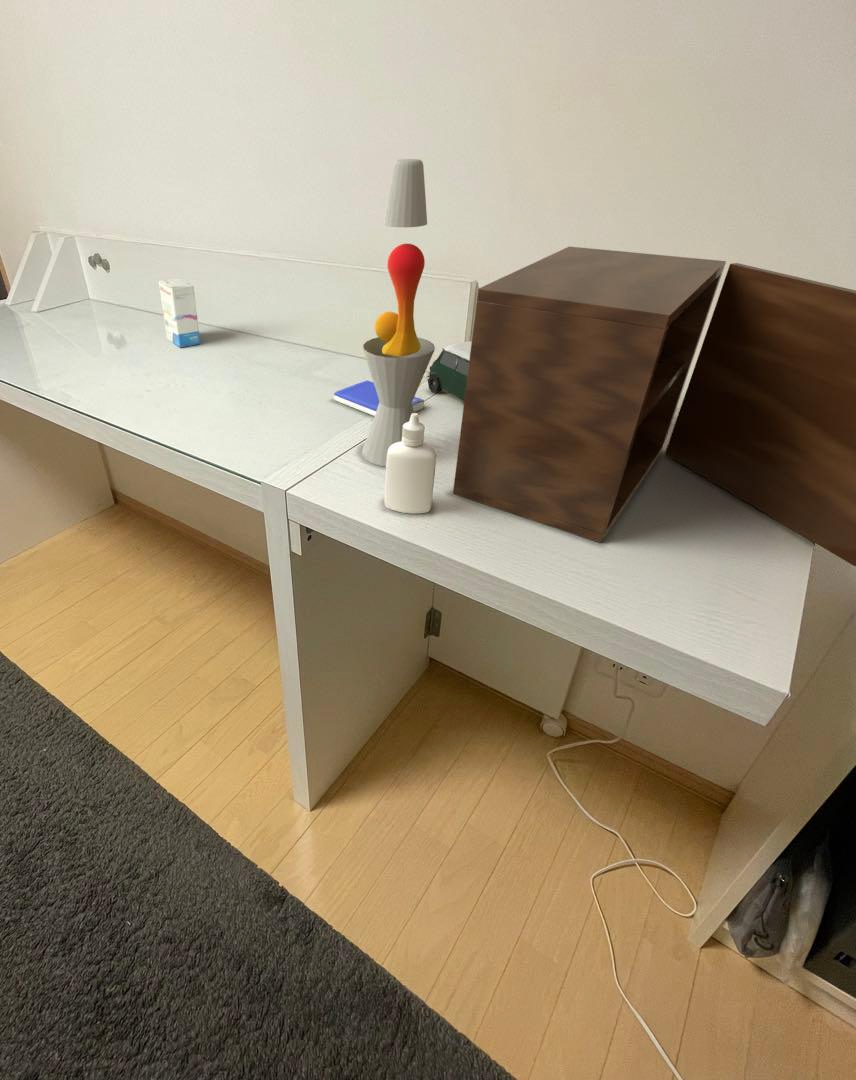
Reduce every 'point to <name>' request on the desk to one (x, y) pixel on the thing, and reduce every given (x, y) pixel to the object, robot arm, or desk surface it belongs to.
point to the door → (778, 403)
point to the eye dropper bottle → (410, 471)
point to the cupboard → (578, 381)
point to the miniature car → (451, 370)
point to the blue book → (366, 398)
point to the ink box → (179, 312)
